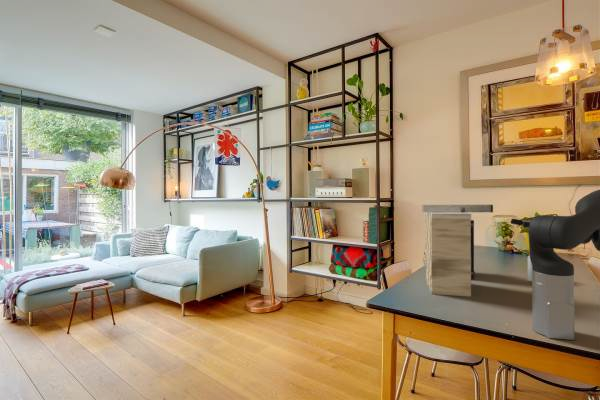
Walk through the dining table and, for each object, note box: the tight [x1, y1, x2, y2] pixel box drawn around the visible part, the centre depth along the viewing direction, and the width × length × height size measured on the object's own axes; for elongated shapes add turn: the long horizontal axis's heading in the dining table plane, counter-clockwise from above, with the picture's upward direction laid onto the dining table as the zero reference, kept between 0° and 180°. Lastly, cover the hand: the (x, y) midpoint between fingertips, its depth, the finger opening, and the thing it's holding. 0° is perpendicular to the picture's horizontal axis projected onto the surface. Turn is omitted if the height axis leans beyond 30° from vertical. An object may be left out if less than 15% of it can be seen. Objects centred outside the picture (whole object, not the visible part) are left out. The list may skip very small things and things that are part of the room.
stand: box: [424, 207, 472, 297], centre depth 132 cm, size 22×14×34 cm, turn 165°
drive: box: [422, 204, 494, 213], centre depth 131 cm, size 4×26×3 cm, turn 75°
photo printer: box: [526, 254, 532, 283], centre depth 142 cm, size 10×4×12 cm, turn 123°
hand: (517, 222), depth 126 cm, fingers open, 8 cm apart
